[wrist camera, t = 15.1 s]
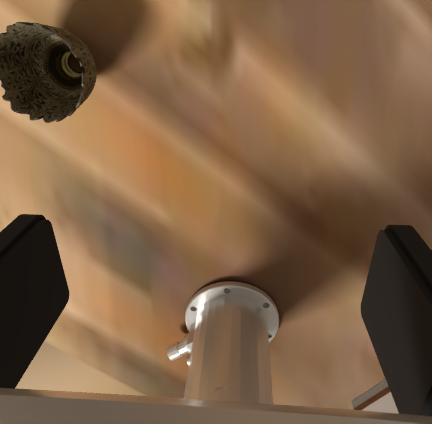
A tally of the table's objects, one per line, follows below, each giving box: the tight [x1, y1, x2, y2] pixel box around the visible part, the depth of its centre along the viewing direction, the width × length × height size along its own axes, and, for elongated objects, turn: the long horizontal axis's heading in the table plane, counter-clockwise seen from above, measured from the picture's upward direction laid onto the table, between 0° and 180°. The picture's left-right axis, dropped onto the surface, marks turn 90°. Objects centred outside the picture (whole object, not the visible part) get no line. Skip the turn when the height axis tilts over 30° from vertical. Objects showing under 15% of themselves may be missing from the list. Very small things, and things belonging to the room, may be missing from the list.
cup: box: [0, 22, 97, 123], centre depth 32 cm, size 8×7×8 cm
